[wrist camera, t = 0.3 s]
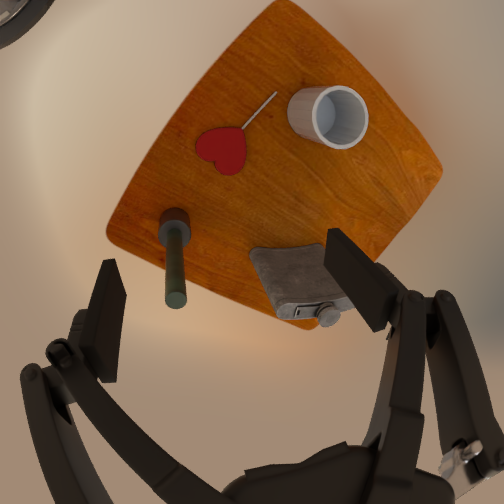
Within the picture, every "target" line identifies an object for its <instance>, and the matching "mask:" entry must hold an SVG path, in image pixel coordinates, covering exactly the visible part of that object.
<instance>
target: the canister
mask: <svg viewBox="0 0 504 504" xmlns="http://www.w3.org/2000/svg"><path fill="white" fill-rule="evenodd" d="M287 116H288V121H289V123H290V125H291V127H292V129H293V130H294V131H295V132H296V133H297V134H298V135H300V136H301V137H303V138H306V139H309V140H312V141H315V142H318V143H321V144H324V145H327V146H329V147H332V148H335V149H346V148H349V147H352V146H354V145H355V144H357V143H358V142H359V141H360V140H361V139H362V137H363V136H364V134H365V132H366V129H367V126H368V111H367V107H366V104H365V102H364V101H363V99H362V97H361V96H360V95H359V94H358V93H357V92H356V91H354V90H352V89H350V88H348V87H346V86H317V87H308V88H304V89H301V90H299V91H298V92H297V93H295V94H294V95H293V97H292V98H291V100H290V102H289V105H288V109H287Z"/></svg>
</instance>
